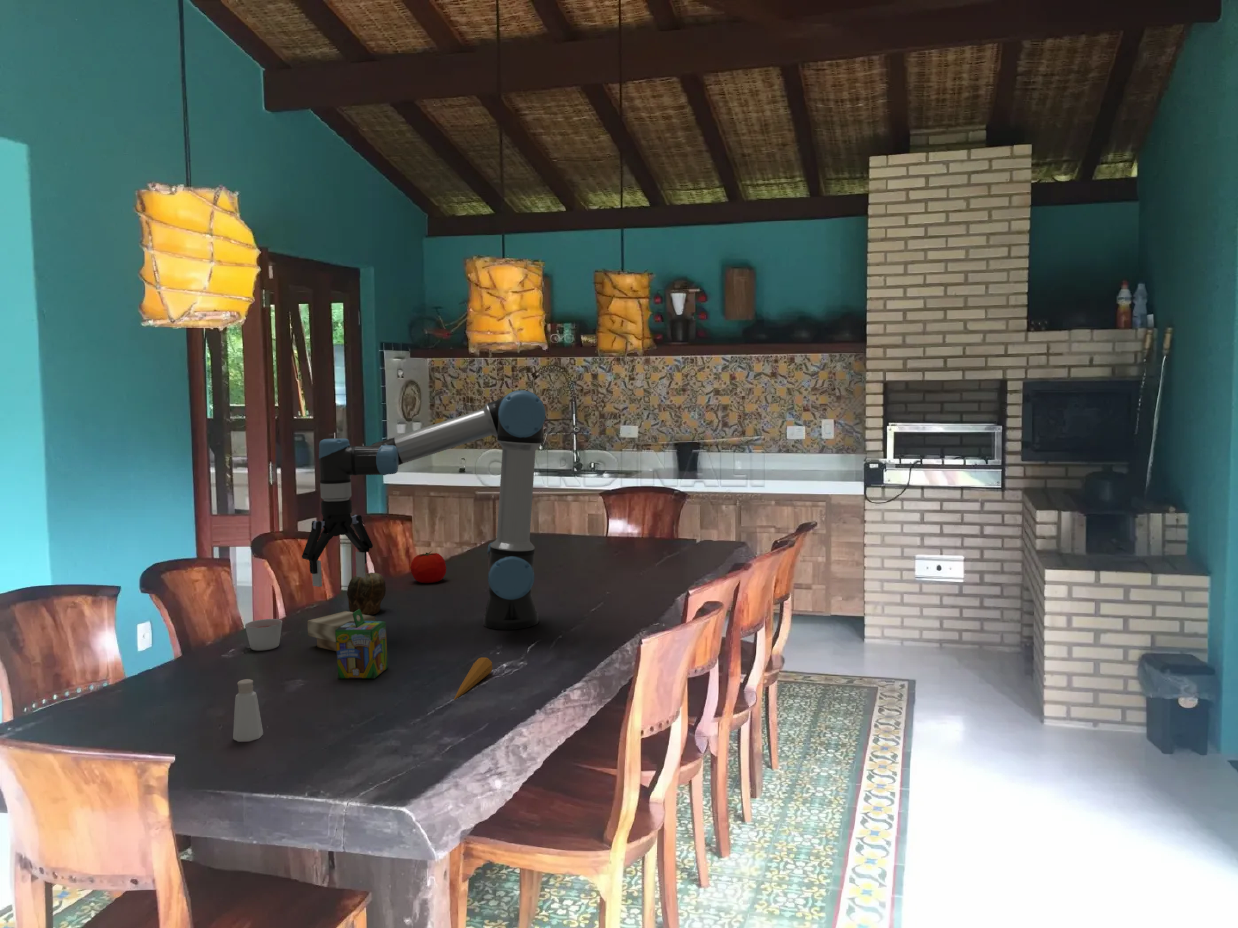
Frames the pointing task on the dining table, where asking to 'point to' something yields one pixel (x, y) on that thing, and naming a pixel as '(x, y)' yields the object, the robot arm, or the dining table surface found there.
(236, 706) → the salt shaker
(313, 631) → the cover board
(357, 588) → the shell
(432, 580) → the tomato
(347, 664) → the chalk box
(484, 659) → the carrot
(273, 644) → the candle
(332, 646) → the trivet
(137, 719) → the dining table surface
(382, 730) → the dining table surface
